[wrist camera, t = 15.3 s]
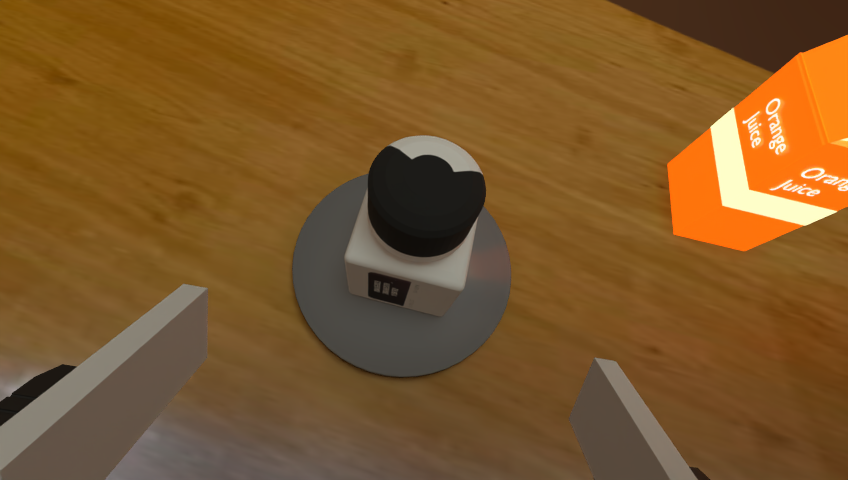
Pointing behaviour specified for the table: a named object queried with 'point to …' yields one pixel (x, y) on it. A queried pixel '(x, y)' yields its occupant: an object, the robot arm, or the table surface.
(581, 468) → the table surface
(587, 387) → the robot arm
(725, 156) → the orange juice
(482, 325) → the slate plate
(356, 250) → the container
